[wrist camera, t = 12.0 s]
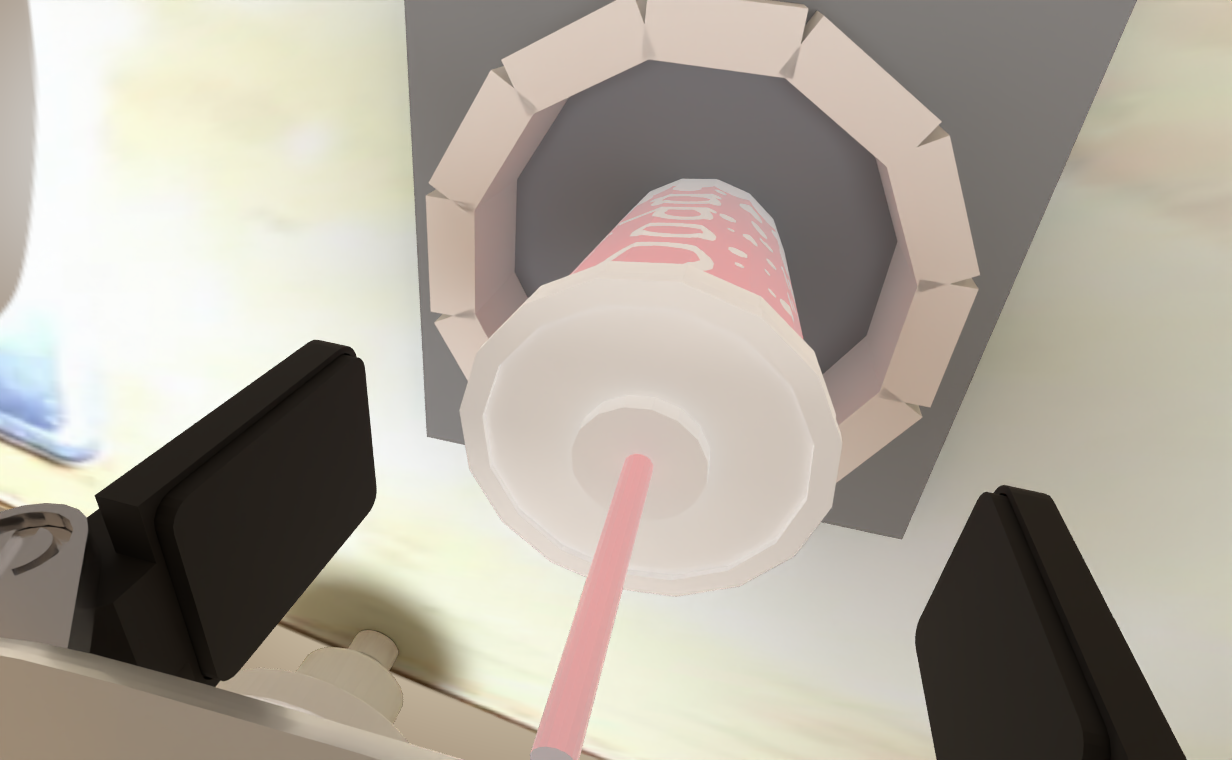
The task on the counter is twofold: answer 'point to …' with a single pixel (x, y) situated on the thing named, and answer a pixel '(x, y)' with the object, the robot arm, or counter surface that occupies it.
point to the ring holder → (759, 177)
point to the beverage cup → (654, 421)
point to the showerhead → (335, 685)
